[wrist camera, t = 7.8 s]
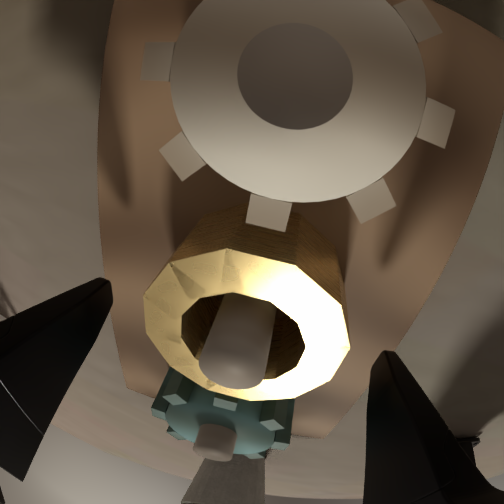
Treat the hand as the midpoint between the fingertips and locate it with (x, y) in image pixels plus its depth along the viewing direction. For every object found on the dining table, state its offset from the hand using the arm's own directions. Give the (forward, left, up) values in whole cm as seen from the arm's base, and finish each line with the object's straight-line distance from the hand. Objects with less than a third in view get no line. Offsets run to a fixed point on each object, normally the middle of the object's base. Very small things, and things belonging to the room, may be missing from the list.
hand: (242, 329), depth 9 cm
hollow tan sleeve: (0, 0, -2) cm, 2 cm away
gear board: (0, 0, -4) cm, 4 cm away
